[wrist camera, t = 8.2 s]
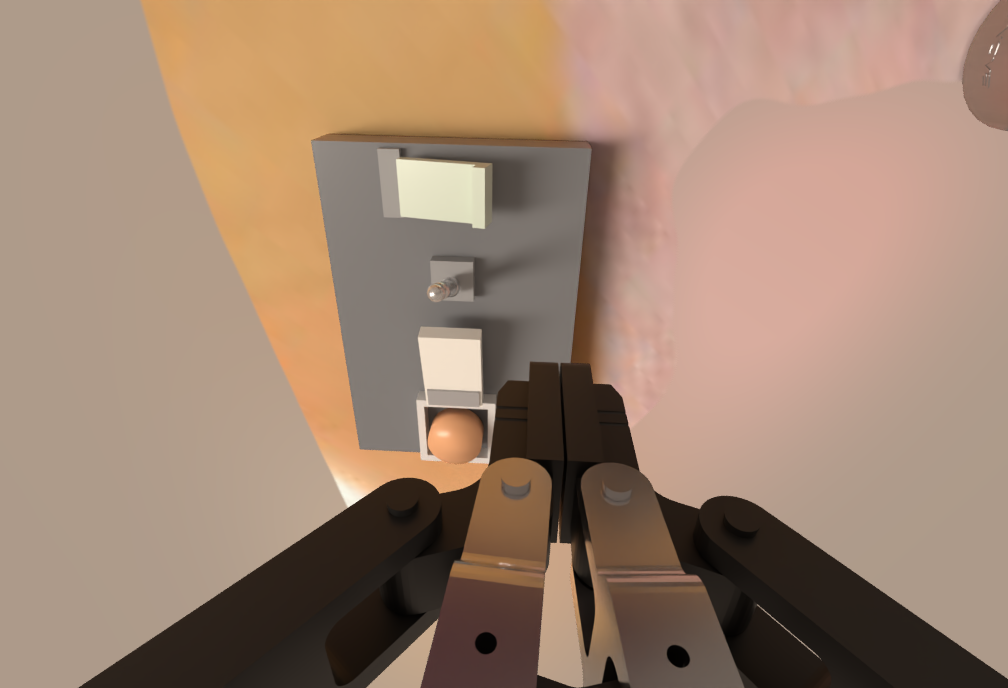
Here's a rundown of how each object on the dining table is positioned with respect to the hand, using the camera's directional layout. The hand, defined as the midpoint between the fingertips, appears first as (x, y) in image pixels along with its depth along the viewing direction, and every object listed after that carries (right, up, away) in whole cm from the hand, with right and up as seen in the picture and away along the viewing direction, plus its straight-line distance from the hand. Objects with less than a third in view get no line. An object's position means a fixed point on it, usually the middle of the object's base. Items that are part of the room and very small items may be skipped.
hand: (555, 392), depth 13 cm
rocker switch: (-5, 0, +26) cm, 27 cm away
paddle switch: (-5, +11, +20) cm, 23 cm away
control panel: (-5, +4, +29) cm, 29 cm away
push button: (-5, -6, +30) cm, 31 cm away
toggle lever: (-5, +5, +22) cm, 23 cm away
